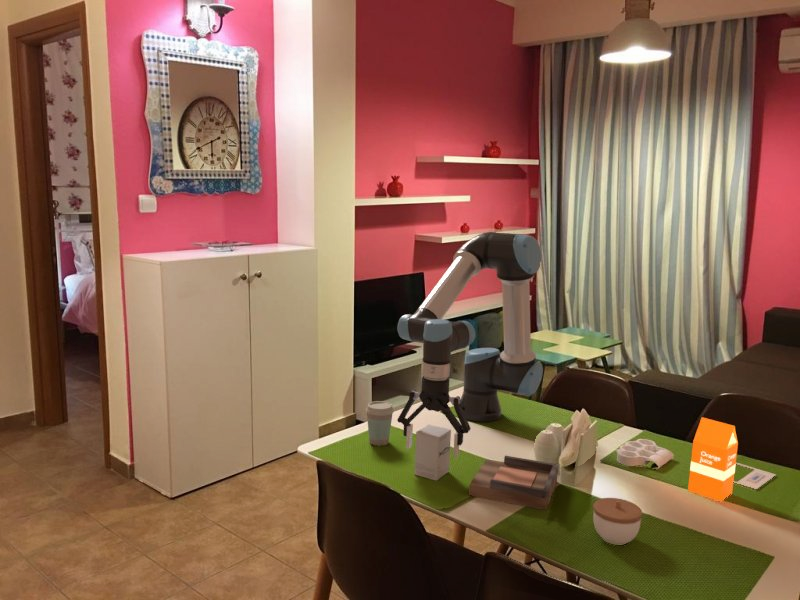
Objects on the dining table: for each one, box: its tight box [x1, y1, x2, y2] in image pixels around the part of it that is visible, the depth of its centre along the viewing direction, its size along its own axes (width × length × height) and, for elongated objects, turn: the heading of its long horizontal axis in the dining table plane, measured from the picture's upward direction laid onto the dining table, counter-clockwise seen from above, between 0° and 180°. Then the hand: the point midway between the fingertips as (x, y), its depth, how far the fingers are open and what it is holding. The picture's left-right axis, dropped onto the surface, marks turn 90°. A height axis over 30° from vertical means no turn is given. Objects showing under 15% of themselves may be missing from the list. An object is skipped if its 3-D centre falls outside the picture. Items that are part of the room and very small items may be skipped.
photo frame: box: [733, 461, 777, 490], centre depth 203 cm, size 15×1×18 cm
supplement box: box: [414, 424, 452, 481], centre depth 196 cm, size 7×7×13 cm
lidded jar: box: [592, 497, 643, 545], centre depth 163 cm, size 11×11×9 cm
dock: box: [468, 455, 559, 511], centre depth 189 cm, size 18×20×5 cm
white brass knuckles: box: [614, 438, 674, 470], centre depth 211 cm, size 3×18×15 cm
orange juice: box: [687, 417, 739, 503], centre depth 188 cm, size 8×9×20 cm
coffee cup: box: [365, 400, 394, 447], centre depth 217 cm, size 8×8×12 cm
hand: (432, 451), depth 195 cm, fingers open, 13 cm apart
